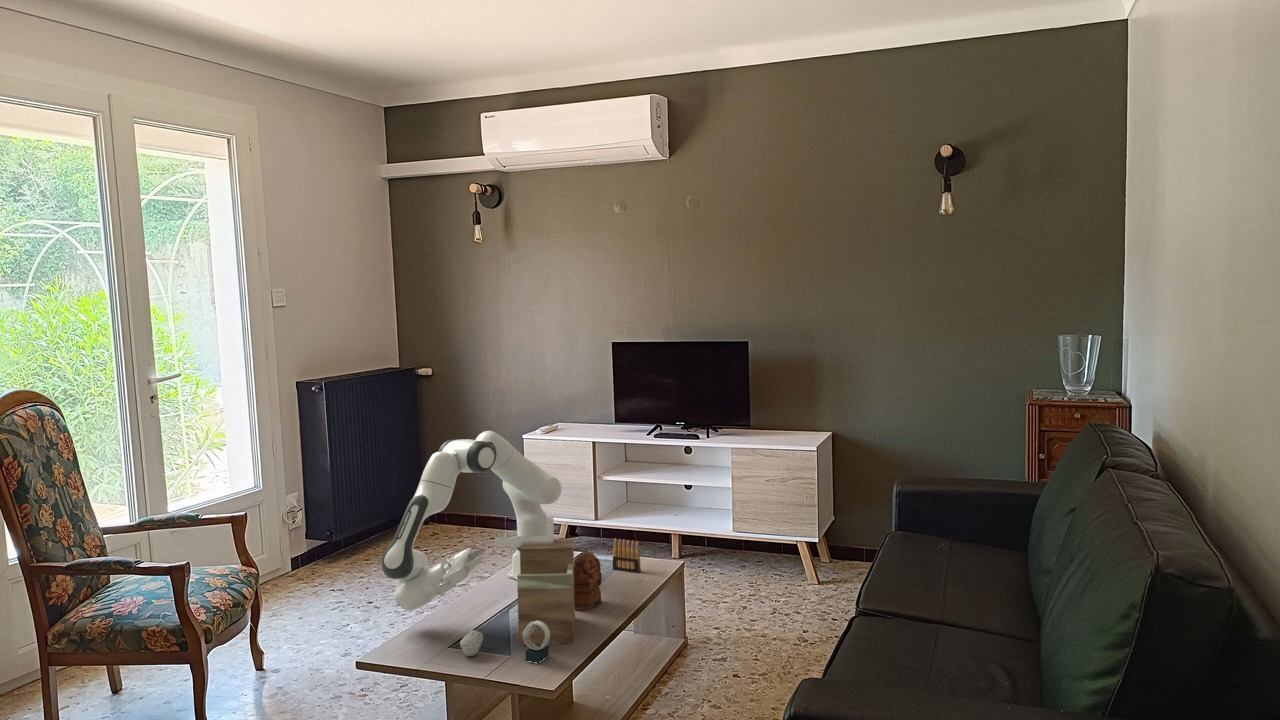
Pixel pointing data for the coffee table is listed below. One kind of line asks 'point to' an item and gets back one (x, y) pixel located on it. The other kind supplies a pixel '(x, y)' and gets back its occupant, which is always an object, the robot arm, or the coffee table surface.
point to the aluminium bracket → (529, 538)
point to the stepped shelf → (547, 591)
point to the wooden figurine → (587, 581)
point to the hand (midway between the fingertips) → (482, 553)
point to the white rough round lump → (471, 643)
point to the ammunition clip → (626, 557)
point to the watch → (537, 650)
